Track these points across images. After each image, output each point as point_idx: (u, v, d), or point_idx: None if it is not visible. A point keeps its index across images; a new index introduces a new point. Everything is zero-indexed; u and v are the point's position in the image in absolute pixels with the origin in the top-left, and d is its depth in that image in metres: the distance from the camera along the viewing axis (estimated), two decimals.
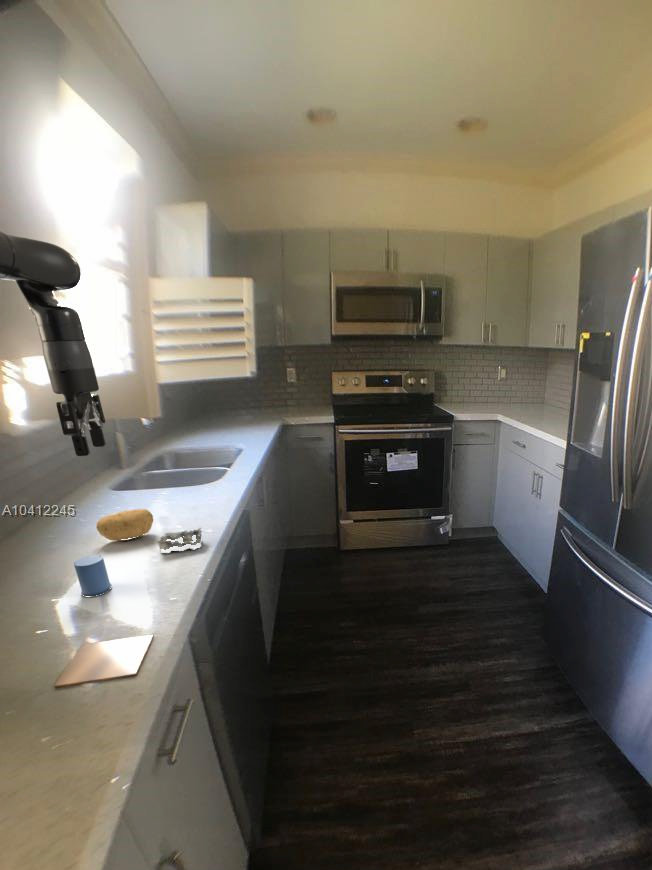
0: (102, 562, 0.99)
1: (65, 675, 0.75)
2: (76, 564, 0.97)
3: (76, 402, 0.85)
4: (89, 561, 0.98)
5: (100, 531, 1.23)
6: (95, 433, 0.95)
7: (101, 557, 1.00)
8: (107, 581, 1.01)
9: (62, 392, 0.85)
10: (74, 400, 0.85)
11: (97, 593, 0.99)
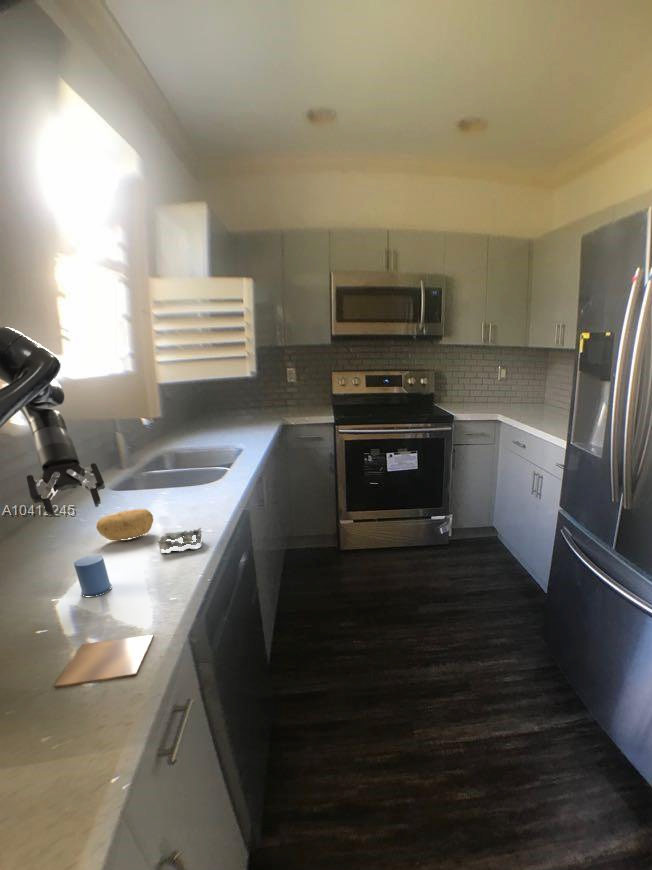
0: (102, 562, 0.99)
1: (65, 675, 0.75)
2: (76, 564, 0.97)
3: None
4: (89, 561, 0.98)
5: (100, 531, 1.23)
6: (51, 503, 1.03)
7: (101, 557, 1.00)
8: (107, 581, 1.01)
9: (78, 460, 1.08)
10: None
11: (97, 593, 0.99)
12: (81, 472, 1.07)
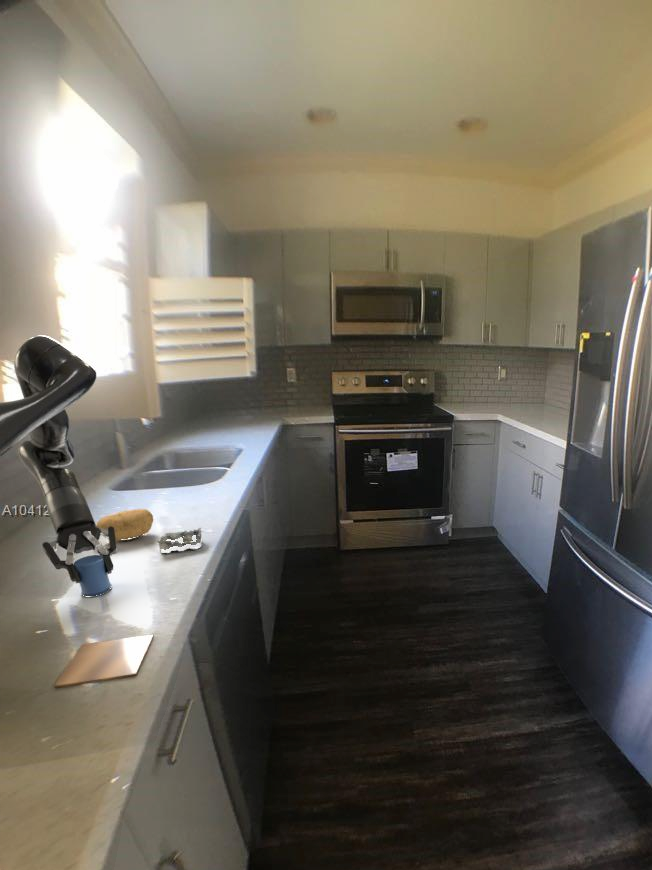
0: (102, 562, 0.99)
1: (65, 675, 0.75)
2: (76, 564, 0.97)
3: None
4: (89, 561, 0.98)
5: None
6: None
7: (101, 557, 1.00)
8: (107, 581, 1.01)
9: None
10: None
11: (97, 593, 0.99)
12: (97, 533, 1.02)
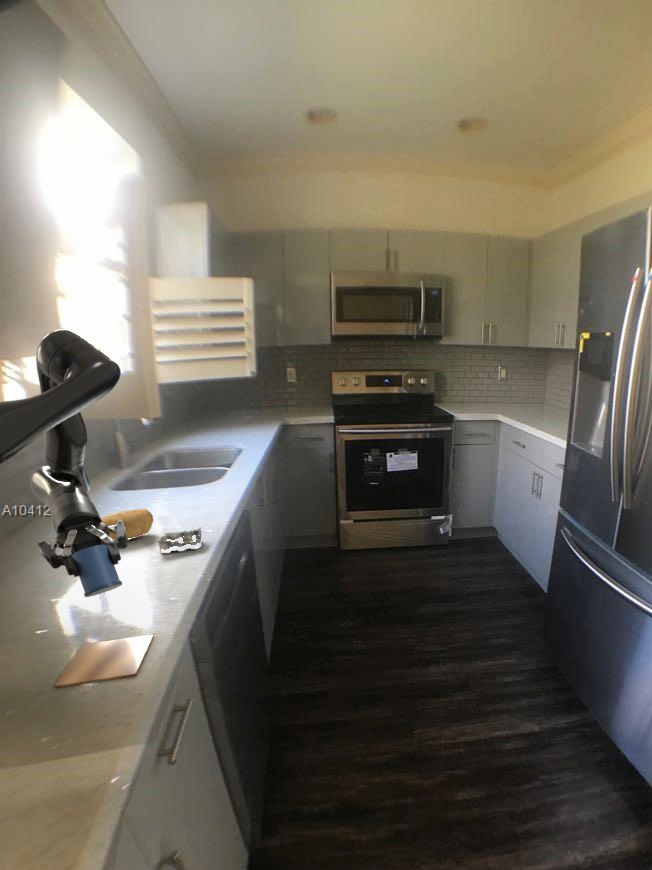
0: (105, 548, 0.80)
1: (65, 675, 0.75)
2: None
3: None
4: None
5: None
6: None
7: None
8: (114, 573, 0.79)
9: None
10: None
11: (100, 586, 0.77)
12: (104, 528, 0.85)
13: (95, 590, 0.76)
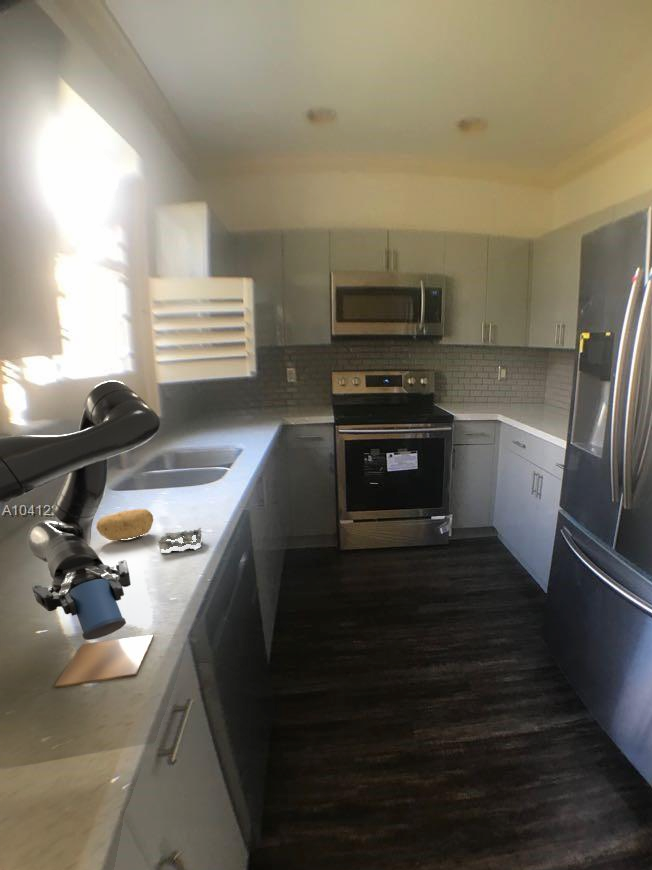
0: (106, 583, 0.72)
1: (65, 675, 0.75)
2: None
3: None
4: None
5: (100, 531, 1.23)
6: None
7: None
8: (116, 609, 0.71)
9: (102, 562, 0.81)
10: None
11: (101, 622, 0.68)
12: (105, 568, 0.78)
13: (95, 627, 0.67)
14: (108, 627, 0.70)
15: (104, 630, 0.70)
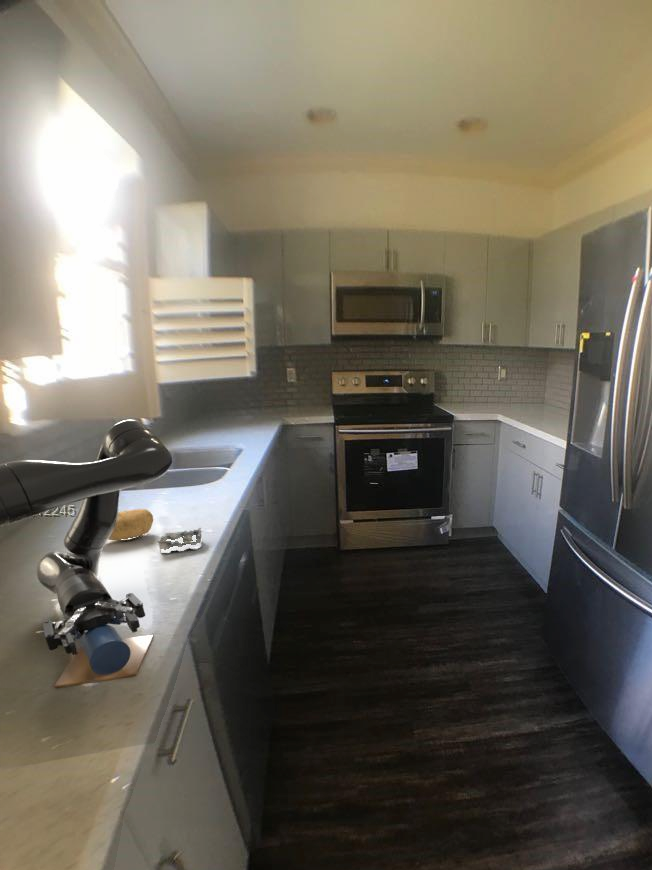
0: (112, 627, 0.79)
1: (65, 675, 0.75)
2: None
3: None
4: None
5: None
6: None
7: None
8: (119, 638, 0.76)
9: (110, 596, 0.83)
10: None
11: (102, 643, 0.73)
12: (114, 603, 0.81)
13: (97, 647, 0.72)
14: (112, 652, 0.74)
15: (109, 657, 0.74)
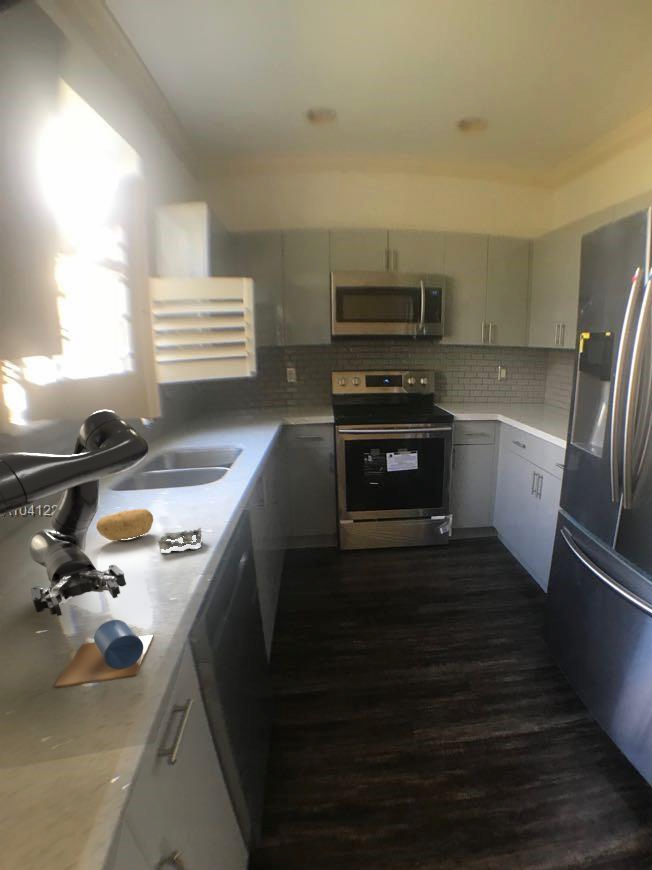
0: None
1: (65, 675, 0.75)
2: None
3: None
4: None
5: (100, 531, 1.23)
6: None
7: None
8: None
9: None
10: None
11: None
12: (97, 573, 0.88)
13: (124, 635, 0.75)
14: (129, 647, 0.75)
15: (124, 651, 0.75)
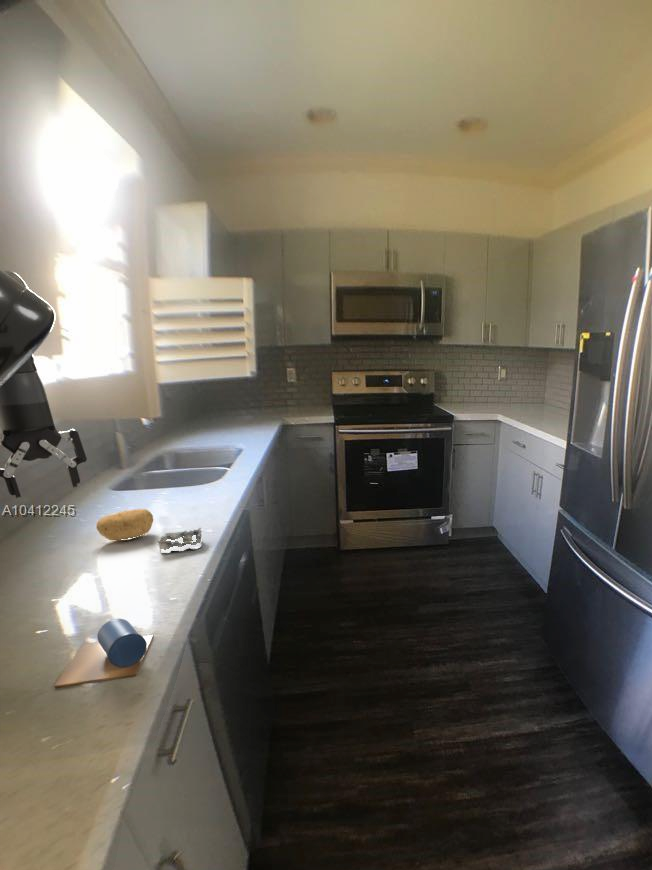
0: None
1: (65, 675, 0.75)
2: None
3: None
4: None
5: (100, 531, 1.23)
6: None
7: None
8: None
9: (53, 424, 0.81)
10: None
11: None
12: (57, 442, 0.82)
13: (131, 633, 0.75)
14: (133, 646, 0.76)
15: (127, 649, 0.75)
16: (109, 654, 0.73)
